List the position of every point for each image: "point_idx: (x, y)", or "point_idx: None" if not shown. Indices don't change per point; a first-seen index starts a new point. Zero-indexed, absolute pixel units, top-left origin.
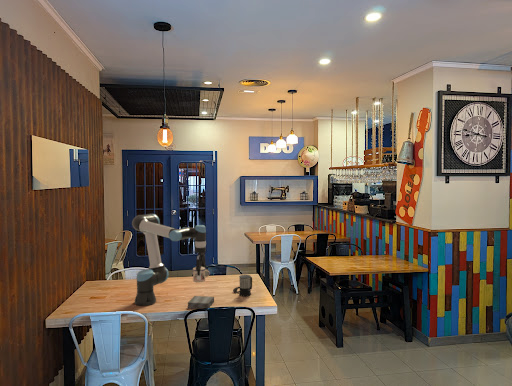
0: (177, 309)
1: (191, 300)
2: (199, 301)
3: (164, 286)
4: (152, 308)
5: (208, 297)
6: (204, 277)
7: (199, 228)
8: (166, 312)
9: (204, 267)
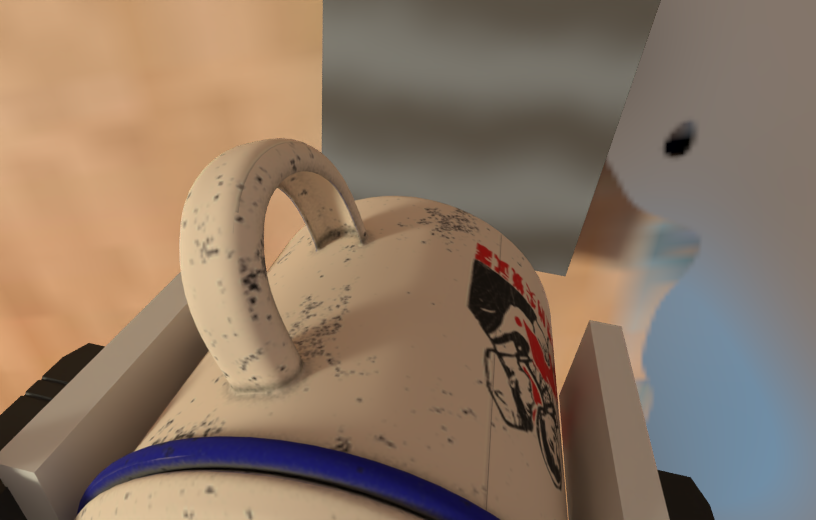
0: (584, 325)
1: None
2: (542, 146)
3: None
4: None
5: (367, 38)
6: (443, 258)
7: None
8: (650, 395)
9: (9, 472)
